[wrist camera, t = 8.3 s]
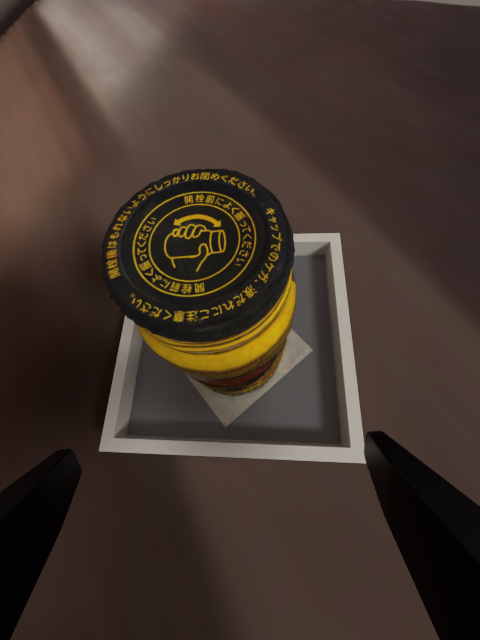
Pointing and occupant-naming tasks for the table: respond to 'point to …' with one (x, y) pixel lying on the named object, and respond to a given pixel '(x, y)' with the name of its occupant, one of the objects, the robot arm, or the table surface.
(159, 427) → the tray
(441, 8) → the table surface
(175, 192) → the condiment
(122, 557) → the table surface
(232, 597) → the table surface
